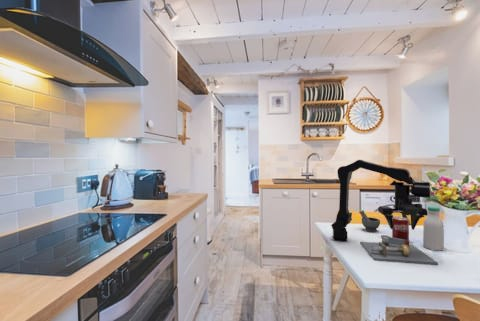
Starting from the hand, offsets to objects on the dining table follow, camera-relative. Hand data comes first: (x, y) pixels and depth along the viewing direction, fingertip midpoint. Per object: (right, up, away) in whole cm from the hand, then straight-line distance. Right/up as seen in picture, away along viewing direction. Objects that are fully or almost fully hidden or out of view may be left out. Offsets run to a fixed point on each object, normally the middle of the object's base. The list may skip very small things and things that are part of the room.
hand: (402, 229), depth 109 cm
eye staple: (-11, -11, -4) cm, 16 cm away
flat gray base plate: (-4, -11, 0) cm, 12 cm away
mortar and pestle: (+3, -11, +33) cm, 35 cm away
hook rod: (-9, -10, -4) cm, 14 cm away
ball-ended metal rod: (0, -10, +5) cm, 11 cm away
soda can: (+10, -11, +15) cm, 21 cm away
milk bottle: (+19, -11, +5) cm, 23 cm away
